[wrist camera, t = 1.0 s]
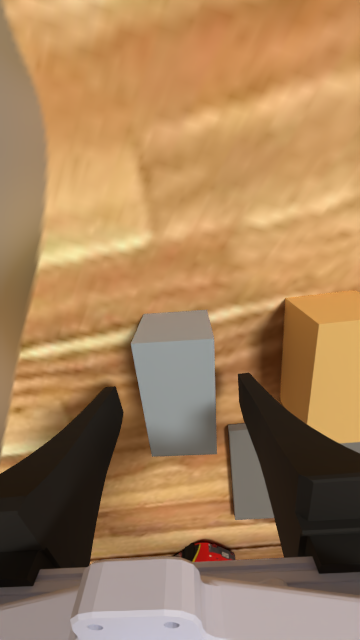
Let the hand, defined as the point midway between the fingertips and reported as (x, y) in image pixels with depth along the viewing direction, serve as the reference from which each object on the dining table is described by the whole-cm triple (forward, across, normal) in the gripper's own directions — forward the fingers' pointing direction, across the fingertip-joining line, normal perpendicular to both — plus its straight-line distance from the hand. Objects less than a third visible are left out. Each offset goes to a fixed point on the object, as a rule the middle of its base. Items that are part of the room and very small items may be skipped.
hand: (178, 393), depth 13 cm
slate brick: (+3, 0, 0) cm, 3 cm away
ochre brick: (+3, -9, 0) cm, 10 cm away
